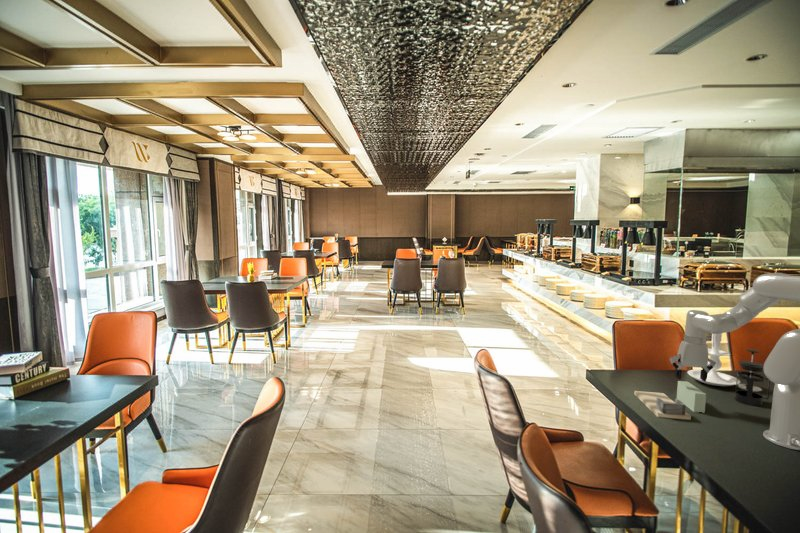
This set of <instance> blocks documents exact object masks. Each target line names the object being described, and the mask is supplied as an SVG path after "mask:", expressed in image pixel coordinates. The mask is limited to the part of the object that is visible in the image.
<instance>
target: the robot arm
mask: <svg viewBox="0 0 800 533" xmlns="http://www.w3.org/2000/svg"><path fill="white" fill-rule="evenodd" d="M753 280H754V281H753V282H752V286H751V287H750V288H748V289H747V290H745V291H744V292H742V293H740V294H739V296H738V303H737V304H736V305H734V306H733V307H731V308H730V309H729V310H726V311H725V312H723V313H718V314H709V313H708V312H706V311H704V310H698V309H697V310H696V309H691V310H688V311H687V312H686V319H685V329H684V335H683V340H681V342H680V344H679V347H678V351H677V355H674V356H671V357H669V362H670V363H671V365H672V366H673V367H674V376H675V378H677V379H678V380H682V379H681V378H682V370H681V369H683V368H684V367H688V368H689V367H690V368H691V367H692V368H700V370H701V374H700V379H702V380H703V381H706V379H707V374H708V372H709V371H710V370H711V369H712V368H713V366H714V365H715V364H716V362H715V361H713V360H711V359H709V358H710V357H709V354H708V349H709V347H708V344H707V342H710V338H709V337H707V336H708V334H711V335H712V334H720V333H722V334H724V333H731V332H733V331H735V330H738V329H739V328H742V326H745V325H746V324H747V323H750V322H751V321H752V320H754V319H755V318H756V317H757V316H758V315H759V314H760V313H762V312H764V311H765V310H767V309H769V308H770V307H772V306H774V305H775V304H777V303H778V302H780V301H792V302H800V275H789V274H787V273H783V272H772V273H771V272H769V273H764V274H761V275H758V276H757V277H756V278H755V279H753ZM708 361H709V362H710V364H709V365H707V364H708ZM676 362H677V363H676ZM763 365H764V367H763V369H764V371H763V374H764V375H765V378H768V379H769V380H770V382H771V383H773V384H774V387H773V393H772V401H771V402H772V403H771V409H770V410H771V411H770V419H769V420H770V422H769V429H766V430H764V431H763V432H762V435H763V437H764V438H765V439H766V440H767V441H769V442H770V443H772V444H775V445H778V446H781V447H783V448H786V449H791V450H795V451H800V328H798V329H792V330H789V331H787V332H786V333H784V334H782V335H781V337H780V338H779V339H778V340H777V342H776V344H775V345H774V347H772V350H771V351H770V352H769V355H768V356H767V358H766V359H765V361H764V363H763ZM769 380H768V381H769Z"/></svg>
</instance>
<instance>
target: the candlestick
mask: <svg viewBox="0 0 800 533" xmlns="http://www.w3.org/2000/svg"><path fill="white" fill-rule="evenodd" d="M722 336H723V333H720V334H711V341H710V343H711V348H708V355H710V356H709V357H708V358H709V359H711V360H713V361H715V362H716V364H715V365H714V366H713V368H712V369H711V370H710V371H709V372H708V374H707V379H706V381H703V380H702V379H700V374H701V370H702V369H697V368H696V369H691V370H690V369H689V370H688V371H687V373H686V374H688V375H689V376H690V377H692V378H693V379H695V380H696V381H698V382H700V383H704V384H706V385H710V386H716V387H731V386H734V385H735V386H736V382H737V384H741V380H740V379H738V380H737V377H735V376H732V375H730V374H727V373H724V372H719V370H720V369H721V368H722V361H721V360H720V357H724V356H730V355H731V353H730V352H728V351H725V350H720V349H721V342H722ZM709 364H710V362H709V361H708V364H707V366H708V365H709Z"/></svg>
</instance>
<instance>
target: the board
mask: <svg viewBox="0 0 800 533" xmlns="http://www.w3.org/2000/svg"><path fill="white" fill-rule="evenodd" d="M634 396H636V398H638V399H639V400H640V401H641V402H642V403H643V405H645V407H647V408H648V409H649V410H650V411H651V412H652V413H653V414H654V415H655V416H656V417H657V418H663V419H665V418H666V419H676V420H677V419H678V420H688V421H691V418H692V415H691V414H689V413H688V411H686V407H687V406H686V405H685V404H683V403H682V402H681V401H680V400H679V399H677V398H675V400H672V399H671V398H670V397H669V396H668V395H666V394H665V393H664V392H653V391H652V392H651V391H640V390H634Z"/></svg>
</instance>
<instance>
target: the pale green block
mask: <svg viewBox="0 0 800 533" xmlns="http://www.w3.org/2000/svg"><path fill="white" fill-rule="evenodd" d="M676 399H679V400H680V401H681V402H682V403H683V404H685V405H686V407H687V408H688V409H689V410H690V411H692V412H693V413H699V412H702V413H703V414H705V411H706V402H707V401H706V400H707V393H705V392H704V391H702V390H701V389H699V388H698V387H696V386H695V385H693V384H692V383H690V382H689V381H685V380H678V381H677V389H676ZM702 413H701V414H702Z"/></svg>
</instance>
